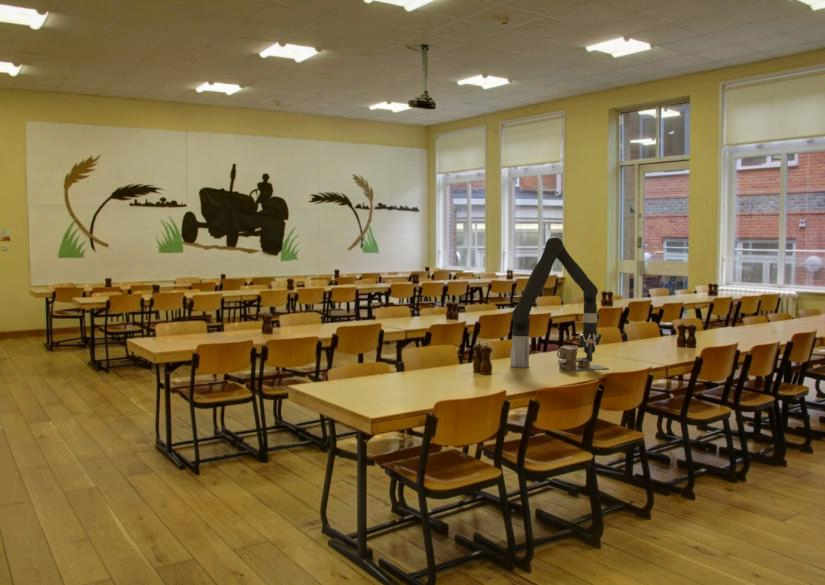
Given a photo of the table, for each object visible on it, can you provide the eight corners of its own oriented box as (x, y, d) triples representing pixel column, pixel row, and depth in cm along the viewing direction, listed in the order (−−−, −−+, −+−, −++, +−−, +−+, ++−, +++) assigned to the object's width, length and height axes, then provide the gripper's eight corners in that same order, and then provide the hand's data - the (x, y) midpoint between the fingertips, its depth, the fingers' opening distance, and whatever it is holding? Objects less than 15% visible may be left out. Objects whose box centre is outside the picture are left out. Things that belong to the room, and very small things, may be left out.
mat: (569, 371, 382) (569, 370, 382) (559, 368, 393) (559, 367, 393) (608, 369, 390) (608, 368, 390) (597, 365, 400) (597, 364, 400)
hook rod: (559, 364, 384) (560, 339, 383) (556, 363, 388) (556, 338, 387) (594, 361, 391) (594, 337, 390) (590, 360, 394) (590, 337, 393)
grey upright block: (569, 371, 383) (569, 349, 382) (559, 368, 392) (559, 346, 391) (575, 371, 384) (576, 348, 383) (566, 368, 393) (566, 346, 393)
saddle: (583, 369, 388) (583, 360, 388) (578, 368, 393) (578, 359, 393) (589, 369, 389) (589, 360, 389) (584, 367, 394) (584, 358, 394)
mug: (573, 365, 401) (574, 347, 400) (553, 363, 409) (553, 345, 408) (580, 363, 408) (580, 346, 407) (559, 361, 415) (559, 344, 415)
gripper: (582, 322, 385) (581, 354, 386) (605, 321, 389) (604, 353, 390) (574, 321, 392) (574, 352, 393) (597, 320, 396) (596, 351, 397)
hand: (589, 352), depth 392 cm, fingers closed on hook rod, 3 cm apart
